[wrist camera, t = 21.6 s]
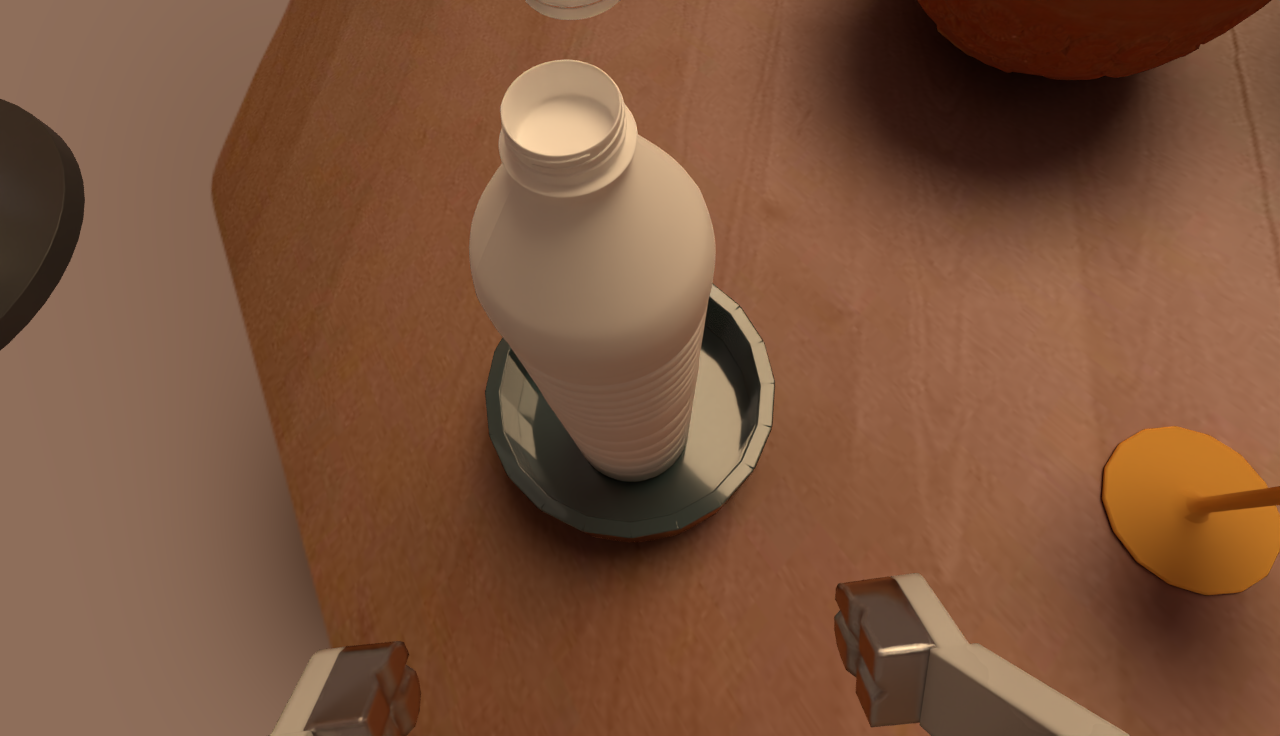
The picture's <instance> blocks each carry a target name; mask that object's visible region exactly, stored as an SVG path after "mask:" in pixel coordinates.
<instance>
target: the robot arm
mask: <svg viewBox="0 0 1280 736" xmlns="http://www.w3.org/2000/svg"><path fill="white" fill-rule="evenodd" d="M835 600H836V602H837V604H838V606H839V608H840V611H839V612H838V613H837V614H836V615H835V617H834V631H835V637H836V642H837V647H838V650H839V653H840V656H841V659H842V661H843V664H844V666H845V669H846V670H847V671H848V672H849V673H851V674H852V675H853V676H855V677H856V694H857V696H858V699H859V701H860V703H861V705H862V708H863V710H864V712H865V715H866V717H867V719H868V721H869V724H870V726H871V727H880V726H889V725H899V724H909V723H919V722H920V726H921V727H922V728H923V729H925V730H926V731H927V732H928V733H929V734H930V735H931V736H1130V735H1129V734H1127V733H1126V732H1124V731H1122V730H1121V729H1119V728H1117V727H1116V726H1114V725H1112V724H1111V723H1109V722H1107V721H1106V720H1104V719H1103V718H1101V717H1099V716H1098V715H1096V714H1094V713H1093V712H1091V711H1089V710H1088V709H1086V708H1084V707H1083V706H1081V705H1079V704H1078V703H1076V702H1074V701H1073V700H1071V699H1069V698H1068V697H1066V696H1064V695H1063V694H1061V693H1059V692H1058V691H1056V690H1054V689H1053V688H1051V687H1050V686H1048V685H1046V684H1045V683H1043V682H1041V681H1040V680H1038V679H1036V678H1035V677H1033V676H1031V675H1030V674H1028V673H1026V672H1025V671H1023V670H1021V669H1020V668H1018V667H1016V666H1015V665H1013V664H1011V663H1010V662H1008V661H1006V660H1005V659H1003V658H1001V657H1000V656H998V655H997V654H995V653H993V652H992V651H990V650H988V649H987V648H985V647H983V646H982V645H980V644H978V643H975V644H969V643H968V641H967V640H966V638H965V637H964V635H963V634H962V632H961V631H960V629H959V628H958V627H957V625H956V624H955V622H954V621H953V619H952V618H951V616H950V615H949V614H948V612H947V611H946V609H945V608H944V606H943V605H942V603H941V602H940V600H939V599H938V598H937V596H936V595H935V593H934V592H933V590H932V589H931V587H930V586H929V584H928V583H927V582H926V580H925V579H924V577H923V576H922V575H920V574H919V573H913V574H905V575H898V576H891V577H882V578H875V579H868V580H861V581H854V582H846V583H839V584H838V585H837V587H836V594H835ZM408 657H409V652H408V650H407V648H406V646H405V643H404V642H401V641H395V642H385V643H375V644H365V645H356V646H346V647H340V648H331V649H322V650H318V651H317V652H316V653H315V654H314V655H313V656H312V657H311V658H310V660H309V662H308V664H307V666H306V668H305V670H304V672H303V674H302V675H301V677H300V679H299V681H298V683H297V685H296V687H295V689H294V691H293V693H292V695H291V697H290V699H289V701H288V702H287V705H286V706H285V708H284V710H283V712H282V714H281V716H280V718H279V720H278V722H277V724H276V726H275V728H274V730H273V731H272V733H271V735H270V736H407V735H408V734H409V733H410V732H411V730H412V729H413V728H414V727H415V725H416V722H417V718H418V714H419V711H420V698H421V690H420V682H419V678H418V676H417V673H416V671H415V670H413V669H412V668H410V667H409V666H407V665H406V663H407V660H408Z"/></svg>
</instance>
